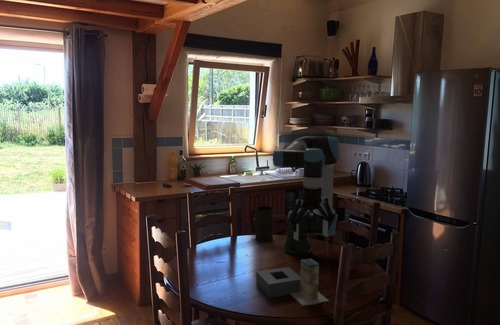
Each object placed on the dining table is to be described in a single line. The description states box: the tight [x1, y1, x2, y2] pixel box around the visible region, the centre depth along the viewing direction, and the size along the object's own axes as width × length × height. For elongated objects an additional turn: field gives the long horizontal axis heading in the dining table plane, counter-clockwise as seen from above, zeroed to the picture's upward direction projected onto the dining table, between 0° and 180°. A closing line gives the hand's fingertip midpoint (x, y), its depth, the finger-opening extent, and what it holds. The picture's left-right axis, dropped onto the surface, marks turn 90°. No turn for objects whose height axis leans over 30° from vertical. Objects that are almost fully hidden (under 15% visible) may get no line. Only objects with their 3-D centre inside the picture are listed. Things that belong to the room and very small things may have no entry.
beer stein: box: [248, 205, 274, 243], centre depth 245 cm, size 15×11×20 cm
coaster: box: [290, 291, 329, 307], centre depth 171 cm, size 12×12×1 cm
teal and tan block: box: [299, 258, 320, 300], centre depth 170 cm, size 5×6×15 cm
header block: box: [255, 266, 300, 299], centre depth 179 cm, size 16×14×6 cm
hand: (310, 237), depth 168 cm, fingers open, 13 cm apart
